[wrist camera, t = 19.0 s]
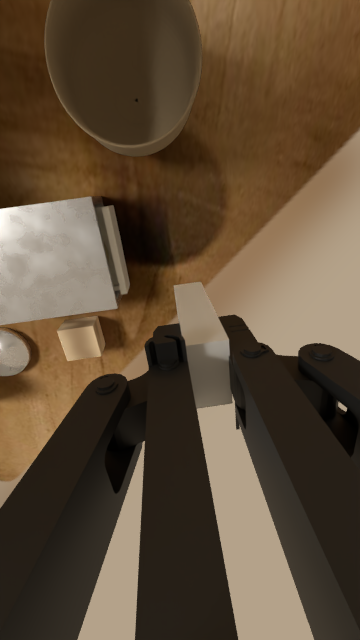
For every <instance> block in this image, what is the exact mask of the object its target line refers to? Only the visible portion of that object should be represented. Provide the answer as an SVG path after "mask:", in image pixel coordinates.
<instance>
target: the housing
mask: <svg viewBox="0 0 360 640" xmlns="http://www.w3.org/2000/svg"><path fill="white" fill-rule="evenodd" d="M97 207H104V205H103V200H102V196H95V197H85V198H78V199H70V200H63V201H55V202H48V203H41V204H33V205H26V206H18V207H11V208H4V209H0V325H4V324H11V323H18V322H25V321H32V320H39V319H46V318H54V317H61V316H68V315H75V314H82V313H89V312H96V311H103V310H110V309H117V308H118V306H119V303H120V301H121V298H122V295H123V294H122V295H121V292H120V290H116V291H115V290H114V286H113V281H112V277H111V273H110V269H109V264H108V260H107V256H106V252H105V247H104V243H103V239H102V235H101V230H100V226H99V222H98V218H97V214H96V209H95V208H97Z"/></svg>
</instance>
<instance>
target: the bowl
mask: <svg viewBox="0 0 360 640" xmlns="http://www.w3.org/2000/svg"><path fill="white" fill-rule="evenodd" d="M44 44H45V56H46V63H47V67H48V71H49V75H50V79H51V82H52V84H53V87H54V89H55V92H56V94H57V96H58V98H59V100H60V102H61V103H62V105H63V107H64V108H65V110H66V111H67V113H68V114H69V115H70V117H71V118H72V119H73V120H74V121H75V122H76V124H77V125H78V126H79V127H80V128H82V129H83V130H84V131H85V132H86V133H88V134H89V135H90V136H92V137H93V138H95V139H96V140H97V141H98V142H99V143H101V144H102V145H103V146H105V147H106V148H108V149H110V150H112V151H114V152H116V153H119V154H122V155H126V156H146V155H150V154H153V153H156V152H158V151H160V150H162V149H163V148H165V147H166V146H168V145H169V144H170V143H171V142H172V141H173V140H174V139H175V138H176V137H177V136H178V135H179V133H180V132H181V130H182V129H183V127H184V125H185V124H186V122H187V119H188V117H189V114H190V112H191V108H192V104H193V102H194V100H195V97H196V94H197V91H198V87H199V83H200V78H201V71H202V43H201V35H200V31H199V26H198V23H197V19H196V16H195V13H194V10H193V8H192V5H191V3H190V1H189V0H51V1H50V5H49V8H48V12H47V17H46V23H45V36H44Z"/></svg>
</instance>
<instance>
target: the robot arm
mask: <svg viewBox="0 0 360 640" xmlns="http://www.w3.org/2000/svg"><path fill="white" fill-rule="evenodd" d="M174 291H175V298H176V306H177V313H178V320H179V323H178V324H171V325H164V326H158V327H157V328H156V330H155V331H154V332H153V337H152V338H150V339H149V340H148V341H147V342H146V343H145V351H146V355H147V361H148V365H149V370H148V371H147V372H146V373H145V374H143V375H142V376H140V377H138V378H136V379H133V380H130V381H127V379H126V377H124V376H122V375H121V374H107V375H104V376H101V377H98V378H97V379H95V380H93V381H92V382H91V383H90V384H89V385H88V386H87V387H86V389H85V390H84V391H83V393H82V394H81V396H80V397H79V398H78V400H77V401H76V403H75V404H74V405H73V407H72V408H71V410H70V411H69V413H68V414H67V415H66V417H65V418H64V420H63V421H62V422H61V424H60V425H59V427H58V428H57V429H56V431H55V432H54V434H53V435H52V436H51V438H50V439H49V441H48V442H47V444H46V445H45V446H44V448H43V449H42V451H41V452H40V453H39V455H38V456H37V458H36V459H35V460H34V462H33V463H32V465H31V466H30V467H29V469H28V470H27V472H26V473H25V475H24V476H23V477H22V479H21V480H20V482H19V483H18V484H17V486H16V487H15V489H14V490H13V491H12V493H11V494H10V496H9V497H8V499H7V500H6V501H5V503H4V504H3V506H2V507H1V508H0V640H77V639H78V636H79V633H80V630H81V627H82V624H83V621H84V618H85V615H86V612H87V609H88V605H89V603H90V600H91V597H92V594H93V591H94V588H95V585H96V582H97V579H98V576H99V573H100V570H101V567H102V564H103V561H104V558H105V555H106V553H107V550H108V546H109V543H110V541H111V538H112V534H113V532H114V529H115V526H116V523H117V520H118V517H119V514H120V511H121V508H122V505H123V502H124V499H125V496H126V493H127V490H128V487H129V484H130V481H131V478H132V475H133V472H134V469H135V466H136V463H137V460H138V457H139V454H140V451H141V449H142V442H143V441H145V452H144V454H145V455H144V472H143V493H142V512H141V532H140V553H139V572H138V591H137V611H136V632H135V640H238V636H237V630H236V625H235V619H234V614H233V608H232V603H231V597H230V592H229V587H228V580H227V575H226V569H225V564H224V559H223V553H222V548H221V542H220V537H219V531H218V525H217V520H216V515H215V509H214V503H213V498H212V492H211V487H210V481H209V476H208V470H207V465H206V459H205V454H204V448H203V443H202V437H201V432H200V426H199V421H198V415H197V408H204V407H210V406H217V405H224V404H230V403H232V394H233V397H234V400H235V412H236V429H239V424H240V427H241V430H242V433H243V436H244V439H245V442H246V444H247V447H248V450H249V453H250V456H251V459H252V462H253V465H254V467H255V470H256V473H257V476H258V479H259V482H260V485H261V488H262V490H263V493H264V496H265V499H266V502H267V505H268V507H269V511H270V513H271V516H272V519H273V522H274V525H275V528H276V530H277V533H278V536H279V539H280V542H281V545H282V548H283V551H284V553H285V556H286V559H287V562H288V565H289V568H290V571H291V574H292V577H293V579H294V582H295V585H296V588H297V591H298V594H299V597H300V600H301V602H302V605H303V608H304V611H305V614H306V617H307V620H308V622H309V625H310V628H311V631H312V634H313V637H314V640H360V361H359V360H357V359H355V358H354V357H352V356H350V355H348V354H347V353H345V352H343V351H341V350H340V349H338V348H335V347H333V346H330V345H326V344H321V343H319V344H318V343H314V344H308V345H305V346H303V347H301V348H300V350H299V352H298V356H282V355H276V354H275V353H274V352H273V350H272V349H271V348H270V347H269V346H268V345H265V344H263V343H258V342H257V340H256V339H255V337H254V336H253V334H252V333H251V331H250V330H249V329H248V327H247V326H246V324H245V322H244V321H243V319H242V318H240V317H238V316H236V315H228V316H221V317H218V316H217V314H216V312H215V310H214V308H213V306H212V304H211V302H210V299H209V298H208V295H207V293H206V291H205V289H204V287H203V285H202V283H201V282H195V283H188V284H181V285H174ZM338 402H340V403H342V404H343V405H344V406H346V407H347V411H346V412H345V411H343V410H341V409H340V408H339V407H338Z"/></svg>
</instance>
